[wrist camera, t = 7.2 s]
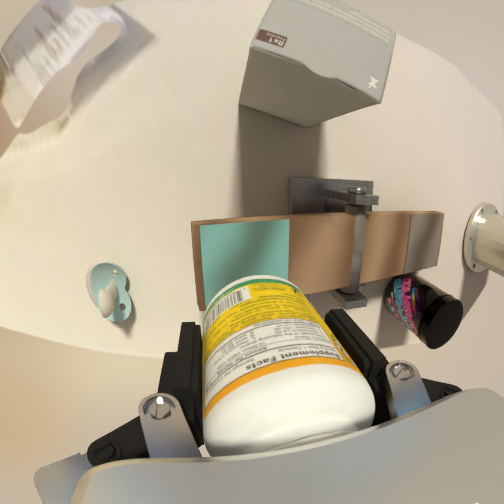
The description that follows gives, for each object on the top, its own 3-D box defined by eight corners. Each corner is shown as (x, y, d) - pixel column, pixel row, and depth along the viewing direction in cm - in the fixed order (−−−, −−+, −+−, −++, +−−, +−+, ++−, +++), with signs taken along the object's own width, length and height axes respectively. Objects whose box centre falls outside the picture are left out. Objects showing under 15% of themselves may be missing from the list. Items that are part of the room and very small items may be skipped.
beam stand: (368, 181, 30) (409, 186, 22) (360, 282, 34) (393, 310, 26) (289, 177, 29) (315, 180, 21) (287, 289, 32) (307, 324, 25)
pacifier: (96, 312, 30) (137, 312, 31) (76, 338, 24) (122, 341, 25) (83, 258, 28) (126, 255, 29) (57, 277, 22) (105, 275, 23)
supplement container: (403, 260, 34) (453, 289, 24) (423, 284, 36) (468, 314, 26) (373, 298, 35) (417, 337, 25) (396, 319, 37) (436, 356, 27)
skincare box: (322, 82, 26) (405, 29, 11) (304, 135, 28) (389, 109, 13) (252, 55, 24) (287, -31, 9) (230, 109, 26) (249, 45, 11)
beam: (434, 204, 29) (446, 207, 28) (426, 267, 32) (437, 271, 30) (190, 210, 21) (192, 214, 19) (198, 309, 23) (201, 321, 22)
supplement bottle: (205, 267, 12) (207, 481, 3) (319, 274, 13) (456, 421, 4) (201, 363, 13) (208, 539, 4) (298, 363, 14) (367, 511, 5)
